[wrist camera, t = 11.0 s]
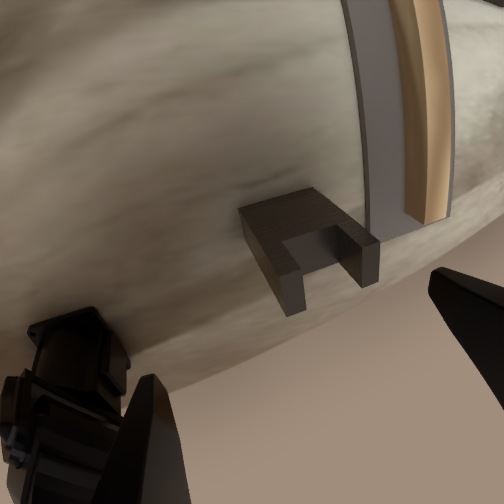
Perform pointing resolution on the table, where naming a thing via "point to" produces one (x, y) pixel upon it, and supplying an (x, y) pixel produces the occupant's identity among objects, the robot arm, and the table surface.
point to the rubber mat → (385, 116)
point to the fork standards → (306, 243)
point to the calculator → (496, 2)
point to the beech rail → (424, 106)
